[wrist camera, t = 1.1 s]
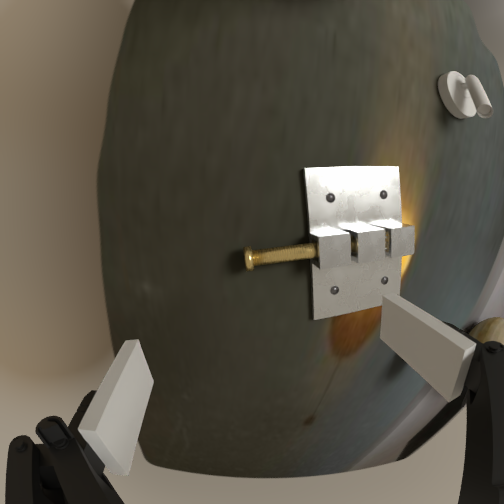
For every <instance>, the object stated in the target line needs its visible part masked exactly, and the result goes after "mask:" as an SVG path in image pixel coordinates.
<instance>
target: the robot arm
mask: <svg viewBox="0 0 504 504" xmlns="http://www.w3.org/2000/svg"><path fill="white" fill-rule="evenodd" d="M380 339H382V340H383V341H384V342H385V343H386V344H387V345H388V346H389V347H390V348H391V349H392V350H394V351H395V352H396V353H397V354H398V355H399V356H400V357H401V358H402V359H403V360H404V361H405V362H407V363H408V364H409V365H410V366H411V367H412V368H413V369H414V370H415V371H416V372H417V373H418V374H419V375H421V376H422V377H423V378H424V379H425V380H426V381H427V382H428V383H429V384H430V385H431V386H432V387H433V388H434V389H435V390H436V391H437V392H439V393H440V394H441V395H442V396H443V397H444V398H445V399H446V400H447V401H448V402H450V401H452V400H453V399H455V398H456V397H458V396H459V395H460V394H461V392H462V389H463V386H464V385H465V386H467V387H468V390H467V393H466V395H465V398H464V400H463V403H462V407H464V404H465V403H466V402H467V431H466V450H465V462H464V471H463V478H462V484H461V491H460V496H459V501H458V504H504V345H503V344H502V343H500V342H497V341H487V342H485V343H484V344H483V343H481V342H480V341H478V340H477V339H475V338H474V337H472V336H470V335H469V334H467V333H464V331H462V330H461V329H460V330H459V328H457V327H456V326H454V325H452V324H450V323H446V322H441V321H440V320H438V319H436V318H435V317H433V316H432V315H430V314H428V313H427V312H425V311H423V310H422V309H420V308H418V307H417V306H415V305H413V304H412V303H410V302H408V301H407V300H405V299H403V298H402V297H400V296H398V295H397V294H395V293H390V294H387V295H383V296H382V320H381V335H380ZM153 383H154V381H153V378H152V376H151V373H150V370H149V368H148V365H147V362H146V360H145V357H144V354H143V351H142V348H141V345H140V342H139V339H138V340H126V341H125V342H124V344H123V346H122V347H121V349H120V351H119V352H118V354H117V356H116V358H115V359H114V361H113V363H112V365H111V366H110V368H109V370H108V372H107V374H106V376H105V377H104V379H103V381H102V383H101V385H100V386H99V388H98V390H97V391H93V390H92V391H91V392H89V393H88V394H87V395H86V396H85V397H84V399H83V400H82V402H81V404H80V406H79V407H78V409H77V412H76V413H75V415H74V416H73V418H72V420H71V422H70V424H69V426H68V427H67V425H66V424H65V423H64V421H63V420H62V418H60V417H57V416H50V417H46V418H44V419H42V420H41V421H40V422H39V423H38V425H37V427H36V434H37V435H38V437H39V438H40V439H41V441H42V442H43V443H44V444H34V442H33V441H32V440H31V439H30V437H28V436H26V435H21V436H18V437H16V438H14V439H13V440H12V441H11V443H10V445H9V451H8V459H7V470H6V493H5V504H124V502H123V501H122V499H121V498H120V497H119V495H118V494H117V492H116V491H115V490H114V488H113V486H112V485H111V483H110V482H109V480H108V478H107V477H106V476H105V475H104V473H103V471H104V468H105V466H106V468H107V469H108V470H109V471H110V472H111V473H112V474H117V475H126V476H128V475H129V472H130V468H131V463H132V459H133V455H134V451H135V447H136V443H137V440H138V436H139V432H140V428H141V425H142V421H143V417H144V414H145V410H146V407H147V403H148V400H149V396H150V393H151V389H152V386H153Z"/></svg>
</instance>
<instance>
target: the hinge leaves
mask: <svg viewBox="0 0 504 504" xmlns="http://www.w3.org/2000/svg"><path fill="white" fill-rule="evenodd" d="M303 176H304V186H305V197H306V209H307V221H308V235H309V243H315V242H317V247H318V257H317V258H310V269H311V292H312V318H313V319H314V320H317V319H322V318H327V317H332V316H337V315H342V314H346V313H351V312H355V311H360V310H364V309H368V308H372V307H377V306H381V305H382V296H383V295H387V294H390V293H395V294H397V295H398V296H399V295H400V281H401V259H402V256H406V255H411V254H414V226H413V225H408V224H403V223H402V216H401V194H400V180H399V168H398V167H386V166H355V167H319V168H304V169H303ZM342 230H344V231H342ZM355 237H356V252H352V253H351V238H355Z"/></svg>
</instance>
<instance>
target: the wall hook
mask: <svg viewBox="0 0 504 504" xmlns="http://www.w3.org/2000/svg"><path fill="white" fill-rule="evenodd" d="M438 89H439V93H440V96H441V99H442V101H443V103H444V105H445V106H446V108H447V109H448V110H449V112H450V113H451V114H452V115H454V116H455V117H457V118H459V119H463V118H468V117H472V116H474V115H475V113H476V111H477V113H478V115H479V116H480V117H482V118H489V117H491V116H492V114H493V109H492V106H491V104H490V102H489V100H488V97H487V95H486V93H485V91H484V89H483V87H482V85H481V83H480V81H479V79H478V78H477V77H476V76H474V75H468V76H467V77H466V79H465V77H464V76H462V75H461V74H460V73H458V72H456V71H451V72H449V73H446V74H444V75H442V76H440V78H439V80H438Z"/></svg>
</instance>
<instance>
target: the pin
mask: <svg viewBox="0 0 504 504" xmlns="http://www.w3.org/2000/svg"><path fill="white" fill-rule="evenodd" d="M352 252H356V237H355V238H351V253H352ZM243 253H244V261H245V268H246V271H253V270H254V266H258V265H266V264H273V263H281V262H288V261H295V260H302V259H310V258H317V257H318V247H317V242H315V243H307V244H299V245H291V246H283V247H275V248H267V249H259V250H251V246H248V247H243Z"/></svg>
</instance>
